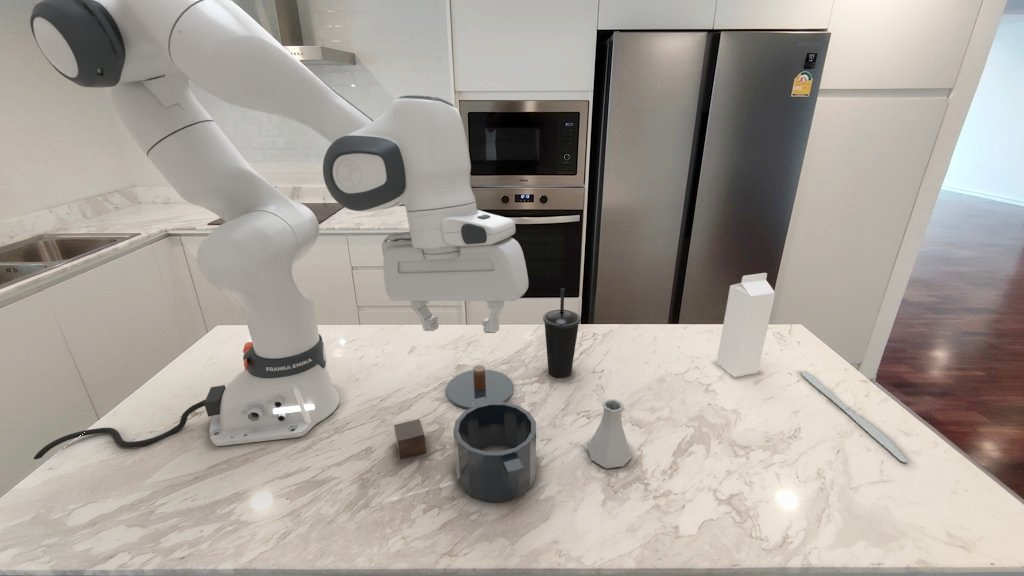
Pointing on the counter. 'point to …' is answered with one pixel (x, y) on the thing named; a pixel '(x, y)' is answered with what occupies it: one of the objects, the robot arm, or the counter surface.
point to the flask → (610, 438)
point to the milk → (745, 325)
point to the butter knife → (856, 418)
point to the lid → (479, 387)
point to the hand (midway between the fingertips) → (460, 330)
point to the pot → (495, 471)
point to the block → (410, 439)
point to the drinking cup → (561, 339)
